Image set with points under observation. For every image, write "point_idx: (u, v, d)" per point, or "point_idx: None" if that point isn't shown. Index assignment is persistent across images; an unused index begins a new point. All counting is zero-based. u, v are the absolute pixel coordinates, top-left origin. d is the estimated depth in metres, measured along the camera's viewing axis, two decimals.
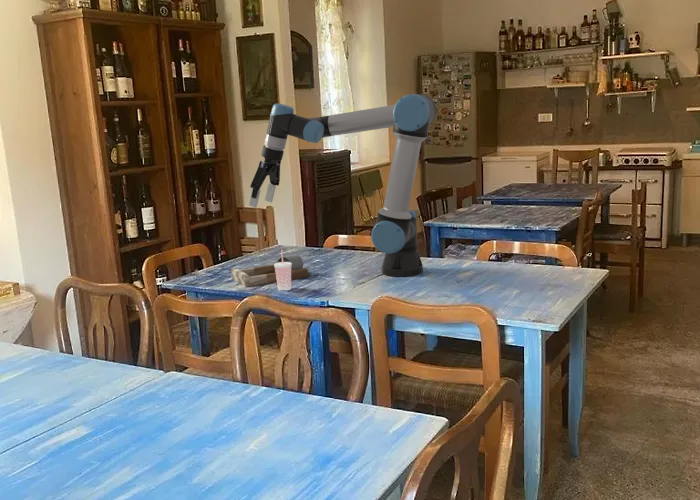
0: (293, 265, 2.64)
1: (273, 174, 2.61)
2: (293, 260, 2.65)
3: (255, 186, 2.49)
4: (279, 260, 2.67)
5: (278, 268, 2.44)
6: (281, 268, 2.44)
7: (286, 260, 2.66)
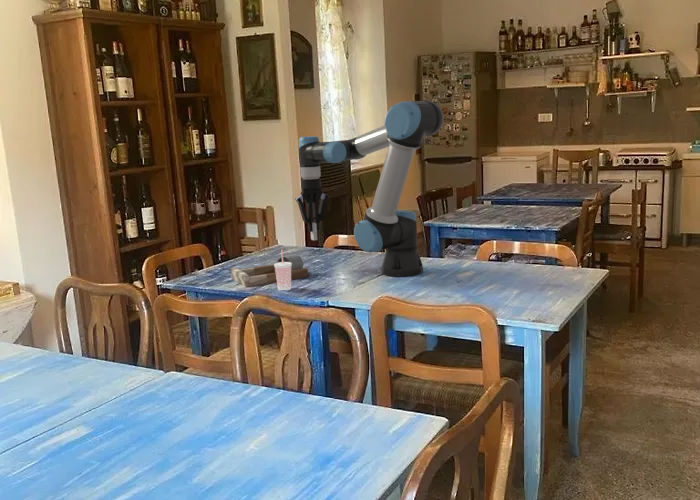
0: (293, 265, 2.64)
1: (314, 206, 2.70)
2: (293, 260, 2.65)
3: (305, 220, 2.69)
4: (279, 260, 2.67)
5: (278, 268, 2.44)
6: (281, 268, 2.44)
7: (286, 260, 2.66)
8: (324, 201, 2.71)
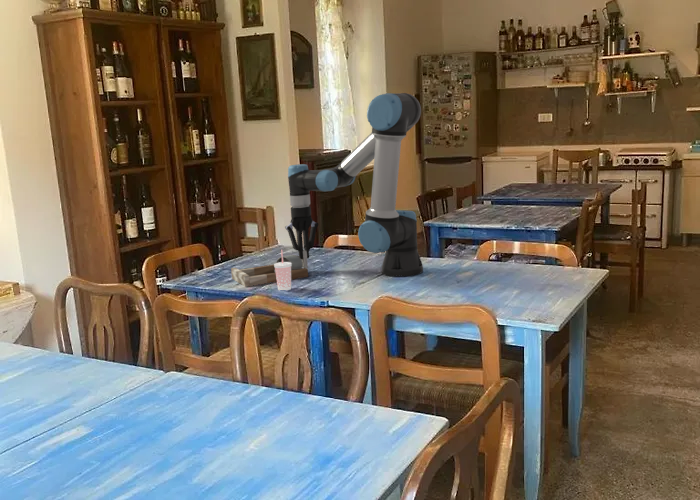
0: (293, 265, 2.64)
1: (304, 234, 2.70)
2: (293, 260, 2.65)
3: (295, 248, 2.69)
4: (279, 260, 2.67)
5: (278, 268, 2.44)
6: (281, 268, 2.44)
7: (286, 260, 2.66)
8: (314, 229, 2.70)
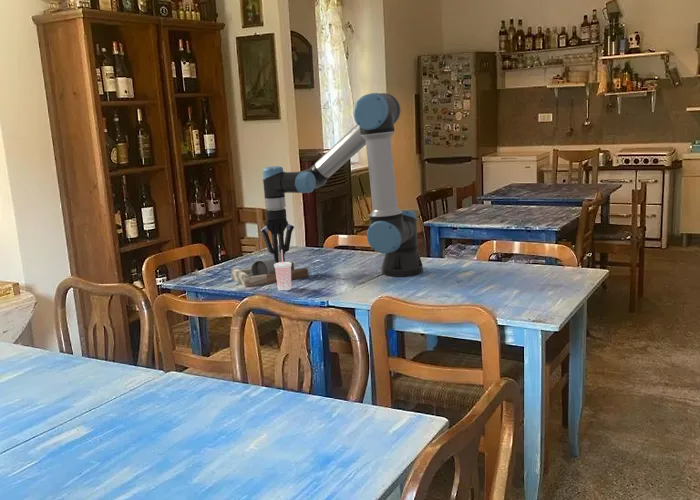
0: (269, 269, 2.60)
1: (280, 237, 2.66)
2: (269, 263, 2.61)
3: (270, 251, 2.65)
4: (254, 264, 2.62)
5: (278, 268, 2.44)
6: (281, 268, 2.44)
7: (261, 264, 2.62)
8: (290, 232, 2.66)
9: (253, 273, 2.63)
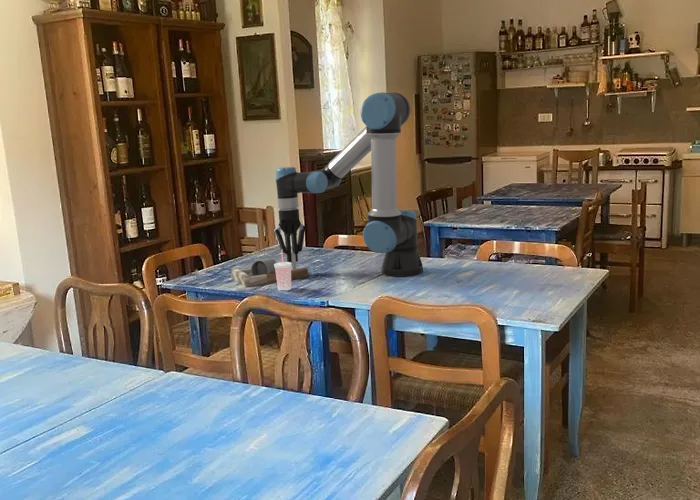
0: (269, 269, 2.60)
1: (293, 237, 2.67)
2: (269, 264, 2.61)
3: None
4: (254, 264, 2.62)
5: (278, 268, 2.44)
6: (281, 268, 2.44)
7: (261, 264, 2.61)
8: (302, 232, 2.68)
9: (253, 273, 2.63)
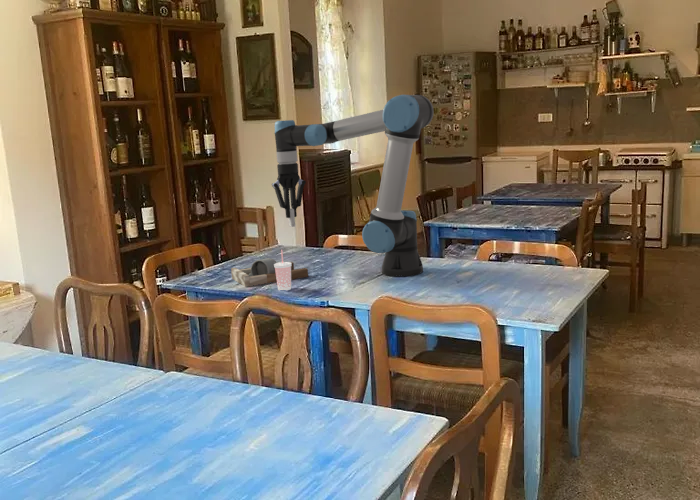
0: (269, 269, 2.60)
1: (292, 192, 2.64)
2: (269, 264, 2.61)
3: (282, 206, 2.64)
4: (254, 264, 2.62)
5: (278, 268, 2.44)
6: (281, 268, 2.44)
7: (261, 264, 2.61)
8: (301, 186, 2.65)
9: (253, 273, 2.63)
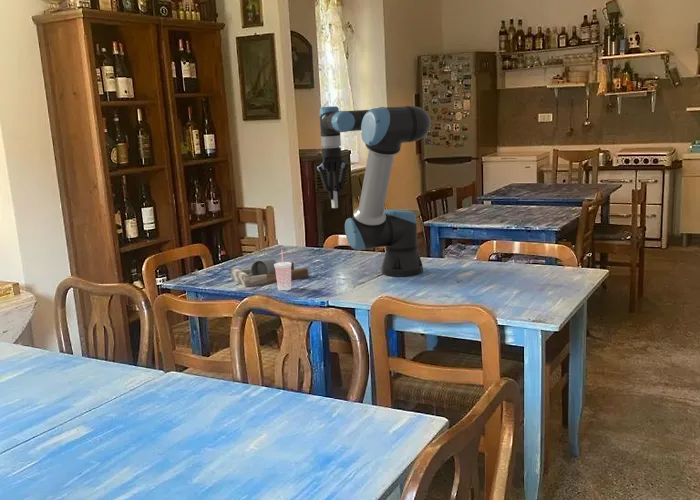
0: (269, 269, 2.60)
1: (335, 175, 2.78)
2: (269, 264, 2.61)
3: (326, 188, 2.77)
4: (254, 264, 2.62)
5: (278, 268, 2.44)
6: (281, 268, 2.44)
7: (261, 264, 2.61)
8: (344, 170, 2.79)
9: (253, 273, 2.63)
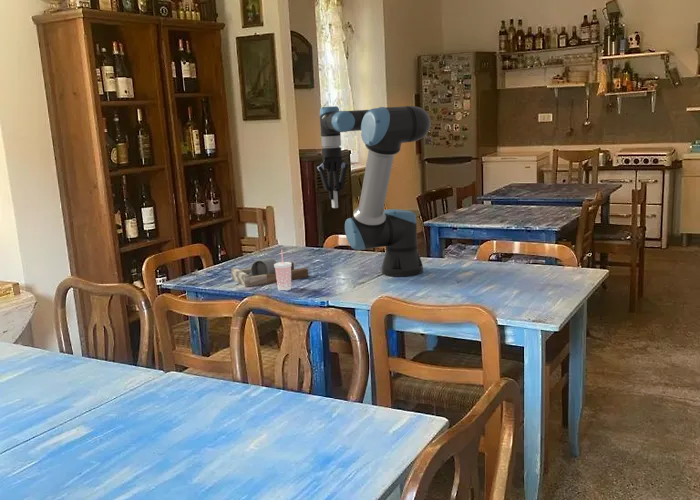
0: (269, 269, 2.60)
1: (335, 175, 2.78)
2: (269, 264, 2.61)
3: (326, 188, 2.77)
4: (254, 264, 2.62)
5: (278, 268, 2.44)
6: (281, 268, 2.44)
7: (261, 264, 2.61)
8: (344, 170, 2.79)
9: (253, 273, 2.63)
